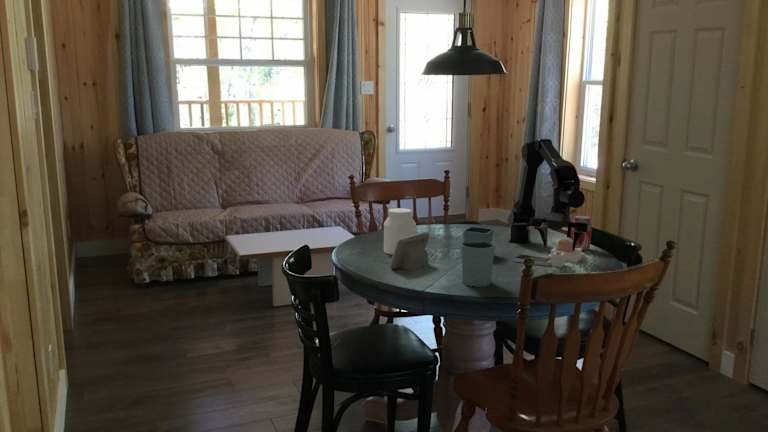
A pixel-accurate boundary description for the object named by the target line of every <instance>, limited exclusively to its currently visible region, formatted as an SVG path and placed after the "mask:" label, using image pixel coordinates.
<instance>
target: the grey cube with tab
mask: <svg viewBox="0 0 768 432" xmlns="http://www.w3.org/2000/svg"><path fill="white" fill-rule="evenodd" d="M565 265H566V261H565V253H561V252H554V253H553V254H552V255H551V264H550V266H552V267H557V268H562V267H564V266H565Z"/></svg>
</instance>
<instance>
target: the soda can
mask: <svg viewBox="0 0 768 432" xmlns="http://www.w3.org/2000/svg"><path fill="white" fill-rule="evenodd" d="M572 218H573V219H572V221H571V222H577V221H578V220H585V221H590V222H591V228H592V220H591V216H590V215H589V216H588V215H584V214H583V215H581V214H580V215H579V214H578V215H577V214H576V215H574V216H573V217H572ZM574 231H576V229H575V228H571V227H570V240H573V239H574ZM591 238H592V229H591V230H589V231H588V232H585V233H584V234H582V235H581V237H580V239H579V241H578V243H577V245H576V247H575V248H581V249H582V250H584V251H587V250H588V249H590V248H591Z"/></svg>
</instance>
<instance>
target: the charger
mask: <svg viewBox="0 0 768 432" xmlns="http://www.w3.org/2000/svg"><path fill="white" fill-rule="evenodd" d="M557 243H558V244H557V246H558V251H563V252H571V253H574V251H575V250H574V251H572V245H573V240H571V238H570V239H569V238H560V240H558V242H557Z"/></svg>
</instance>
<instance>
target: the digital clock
mask: <svg viewBox="0 0 768 432" xmlns="http://www.w3.org/2000/svg"><path fill="white" fill-rule="evenodd" d="M429 238H430V234H429V232H428V231H422V232H418V233H416V234H414V235H411V236H407V237H404V238H401V239H399V240H398V241H397V244H396V247H395V250H394V253H393V255H392V256H391V260H390V263H389V267H390V268H391V269H393V270H397V269H402V270H403V269H404V270H408V271H414V270H417V269H419V268H422V267H425V266H428V258H429V257H428V255H429V254H428V251H427V250H426V248H427V244H428V242H429Z"/></svg>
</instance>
